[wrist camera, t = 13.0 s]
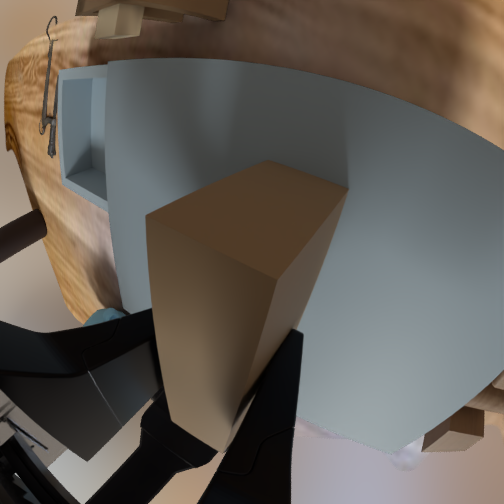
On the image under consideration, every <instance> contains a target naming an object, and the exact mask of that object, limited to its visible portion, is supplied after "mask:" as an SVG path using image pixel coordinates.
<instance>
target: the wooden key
mask: <svg viewBox="0 0 504 504" xmlns="http://www.w3.org/2000/svg"><path fill="white" fill-rule="evenodd" d="M144 8H145V6H137V5H129V4H116V5H113V6H110V7H107V8H104V9H101V10H99V14H98V19H97V25H96V32H95V38H94V39H121V38H127V37H135V36H140V30H141V24H142V19H143V13H144Z"/></svg>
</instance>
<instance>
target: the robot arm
mask: <svg viewBox="0 0 504 504" xmlns="http://www.w3.org/2000/svg"><path fill="white" fill-rule="evenodd" d="M303 342H304V334H303V333H302V332H300V331H298V330H296V329H291V331H290V332H289V334H288V335H287V336H286V338H285V339H284V341H283V342H282V344H281V345H280V347H279V348H278V349H277V351H276V352H275V354H274V356H273V358H272V360H271V362H270V364H269V366H268V368H267V370H266V373H265V375H264V377H263V379H262V381H261V383H260V386H259V388H258V390H257V392H256V394H255V396H254V398H253V400H252V402H251V404H250V406H249V408H248V410H247V413H246V415H245V417H244V419H243V421H242V423H241V425H240V427H239V429H238V431H237V432H236V434H235V436H234V438H233V440H232V442H231V443H230V444H229V446H228V447H227V449H226V450H225V451H224V452H226V451H227V452H226V454H225V456H224V457H223V459H222V461H221V463H220V465H219V467H218V468H217V471H216V472H215V474H214V476H213V478H212V479H211V481H210V483H209V485H208V486H207V488H206V490H205V491H204V493H203V495H202V496H201V498H200V500H199V501H198V503H197V504H291V461H292V447H293V438H294V430H295V428H294V427H295V421H296V413H297V404H298V395H299V386H300V376H301V365H302V354H303ZM150 398H151V400H153V401H154V402H153V403H152V404H151V405H150V406H149V408H148V409H147V410H146V411H145V413H144V414H143V416H142V419H141V424H140V427H141V436H140V437H141V438H140V445H139V447H138V448H137V449H136V450H135V451H134V452H133V453H132V454H131V456H130V457H129V458H128V459H127V460H126V461H125V462H124V463H123V464H122V465H121V466H120V468H119V469H118V470H117V471H116V472H115V473H114V474H113V475H112V476H111V477H110V478H109V479H108V480H107V481H106V482H105V483H104V484H103V486H102V487H101V488H100V489H99V490H98V491H97V492H96V493H95V494H94V495H93V496H92V497H91V498H90V499H89V500H88V501H87V502H86V503H85V504H148V503H149V502H150V501H151V500H152V499H153V498H154V497H155V496H156V495H157V494H158V493H159V492H160V490H161V489H162V488H163V487H164V486H165V485H166V484H167V483H168V482H169V481H170V479H171V478H172V477H173V476H174V475H175V474H176V473H179V472H182V471H185V470H189V469H192V468H198V467H200V466H203V465H205V464H207V463H209V462H210V461H211V460H212V459H213V457H214V456H215V455H216V454H217V453H218V452H219V451H217V450H216V449H214V448H212V447H211V446H209V445H207V444H206V443H204V442H203V441H201V440H199V439H198V438H196V437H195V436H193V435H192V434H190V433H189V432H187V431H186V430H184V429H183V428H181V427H180V426H178V425H177V424H176V423H174V422H173V421H172V420H171V416H170V412H169V407H168V402H167V398H166V393H165V388H164V383H163V377H162V372H161V366H160V360H159V354H158V348H157V341H156V334H155V327H154V319H153V311H152V308H149V309H146V310H143V311H139V312H136V313H133V314H129V315H126V316H123V317H121V318H116V319H112V320H109V321H105V322H102V323H98V324H94V325H89V326H84V327H79V328H74V329H69V330H62V331H56V332H50V333H40V332H34V331H31V330H27V329H24V328H21V327H18V326H15V325H12V324H9V323H6V322H3V321H0V504H80V503H79V502H78V501H77V500H76V499H75V498H74V497H73V496H72V495H71V494H70V493H69V492H68V491H67V490H66V489H65V488H64V487H63V485H62V484H61V483H60V482H59V481H58V480H57V479H56V478H55V477H54V476H53V474H52V473H51V472H50V471H49V470H48V469H47V467H48V466H49V465H50V464H51V463H53V462H54V461H55V460H56V459H57V458H58V457H59V456H60V455H61V454H62V453H63V452H64V451H65V450H66V449H69V450H71V451H72V452H74V453H75V454H77V455H78V456H79V457H81V458H82V459H84V460H85V461H89V460H90V459H91V458H92V457H93V456H94V455H95V454H96V453H97V452H98V451H99V450H100V449H101V448H102V447H103V446H104V445H105V444H106V443H107V442H108V441H109V440H110V439H111V438H112V437H113V436H114V435H115V434H116V433H117V432H118V431H119V430H120V429H121V428H122V426H124V425H125V424H126V423H127V422H128V421H129V420H130V419H131V418H132V417H133V416H134V415H135V414H136V413H137V412H138V411H139V410H140V409H141V408H142V407H143V406H144V405H145V403H146V402H147V401H148V400H149V399H150ZM15 473H17V475H18V476H19V477H20V478H19V477H18V476H16V475H15Z"/></svg>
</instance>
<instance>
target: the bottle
mask: <svg viewBox="0 0 504 504" xmlns="http://www.w3.org/2000/svg"><path fill="white" fill-rule="evenodd" d="M46 234H47V229H46V225H45V221H44V219H43V217H42V215H41V213H40V211H39V210H37V209H35V210H33V211H31V212H29V213H27V214H25V215H23V216H21V217H19V218H17V219H16V220H14V221H12V222H10V223H8V224H6V225H5V226H3V227H1V228H0V263H1V262H3V261H4V260H6V259H8V258H9V257H11V256H13V255H14V254H16V253H17V252H19V251H21V250H22V249H24V248H26V247H27V246H29V245H31V244H33V243H34V242H36V241H38V240H40V239H42V238H43V237H45V236H46Z"/></svg>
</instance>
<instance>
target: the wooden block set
mask: <svg viewBox="0 0 504 504" xmlns="http://www.w3.org/2000/svg"><path fill="white" fill-rule="evenodd" d="M484 410H486V411H490V412H495V413H500V414H504V370H503V371H502V372H501V373H500V374H499V375H498V376H497V377H496V378H495V379H494V380H493V381H492V382H491V383H490V384H489V385H487V386H486V387H485V388H484V389H483V390H482V391H481V392H480V393H478V394H477V395H476V396H475V397H474V398H473V399H471V400H470V401H469V402H468V403H467V404H465V405H464V406H463V407H462V408H460V409H459V410H458V411H456V412H455V413H454V414H452V415H451V416H450V417H448V418H447V419H446V420H444V421H443V422H442V423H440V424H439V425H437V426H436V427H435V428H433V429H432V430H430V431H429V432H427V433H426V434H425V437H424V442H423V446H422V451H421V452H452V451H465V450H467V449H468V448H470V447H471V446H472V445H474V444H475V443H476V442H477V441H479V440H480V439H482V438H483V437H484Z"/></svg>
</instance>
